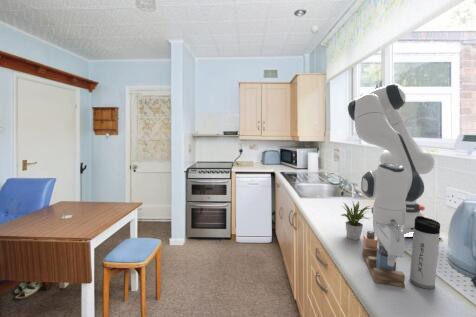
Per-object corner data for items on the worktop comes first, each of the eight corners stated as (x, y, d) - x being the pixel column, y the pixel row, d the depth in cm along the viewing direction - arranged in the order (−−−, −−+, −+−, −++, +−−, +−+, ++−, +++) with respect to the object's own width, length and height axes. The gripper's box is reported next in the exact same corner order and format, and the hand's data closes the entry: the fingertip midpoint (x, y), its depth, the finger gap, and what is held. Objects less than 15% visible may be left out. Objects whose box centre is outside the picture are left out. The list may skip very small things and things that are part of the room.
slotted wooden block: (386, 258, 94) (387, 248, 93) (404, 287, 76) (405, 276, 75) (362, 254, 96) (363, 245, 96) (374, 282, 78) (375, 271, 77)
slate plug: (389, 270, 83) (391, 246, 82) (393, 276, 79) (395, 252, 79) (375, 268, 84) (377, 245, 84) (378, 274, 80) (380, 250, 80)
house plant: (378, 247, 103) (380, 207, 101) (341, 243, 106) (344, 205, 104) (367, 233, 117) (370, 198, 115) (335, 231, 120) (337, 196, 118)
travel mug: (423, 276, 81) (428, 215, 80) (440, 289, 75) (446, 223, 73) (404, 276, 81) (409, 215, 79) (419, 289, 75) (425, 223, 73)
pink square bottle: (374, 251, 99) (375, 231, 99) (376, 255, 96) (378, 235, 95) (362, 249, 100) (364, 230, 100) (364, 254, 97) (366, 233, 96)
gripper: (413, 228, 69) (409, 276, 71) (390, 207, 89) (387, 246, 90) (387, 225, 71) (383, 272, 72) (370, 206, 91) (368, 243, 92)
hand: (385, 257), depth 81 cm, fingers open, 8 cm apart
